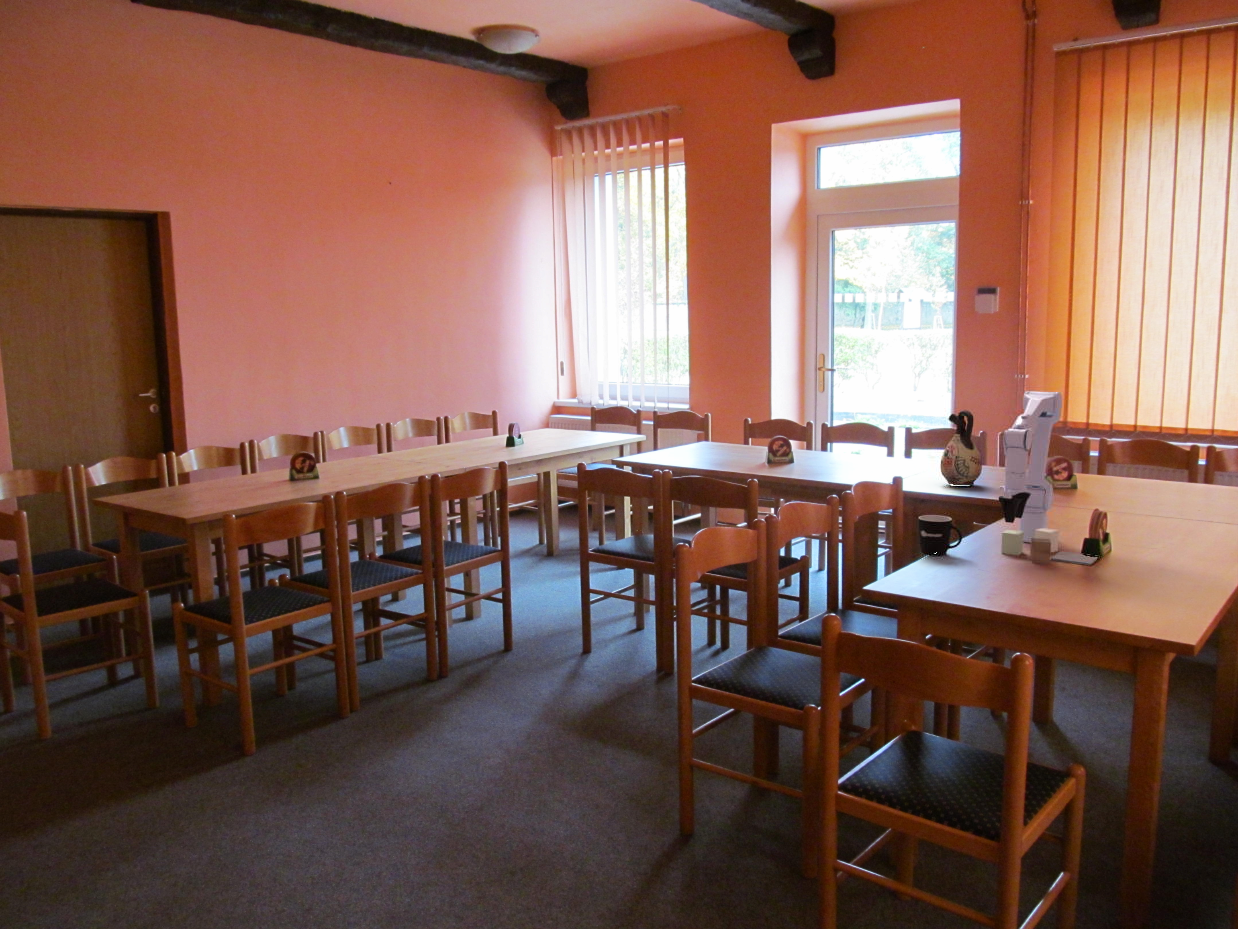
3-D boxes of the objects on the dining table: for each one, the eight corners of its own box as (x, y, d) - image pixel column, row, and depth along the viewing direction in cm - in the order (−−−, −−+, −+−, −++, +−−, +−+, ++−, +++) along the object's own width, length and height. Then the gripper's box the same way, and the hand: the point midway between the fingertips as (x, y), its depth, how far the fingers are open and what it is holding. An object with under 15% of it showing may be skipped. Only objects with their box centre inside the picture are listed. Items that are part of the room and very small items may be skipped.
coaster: (1060, 553, 275) (1060, 551, 275) (1099, 558, 269) (1099, 556, 269) (1050, 560, 267) (1050, 558, 267) (1090, 565, 261) (1090, 563, 261)
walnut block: (1030, 559, 269) (1031, 537, 268) (1047, 560, 267) (1049, 538, 266) (1031, 563, 264) (1032, 541, 264) (1049, 564, 263) (1051, 542, 262)
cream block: (1042, 548, 281) (1043, 527, 280) (1057, 551, 278) (1059, 530, 277) (1034, 550, 278) (1035, 529, 278) (1049, 553, 275) (1050, 532, 274)
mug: (912, 554, 275) (914, 519, 274) (922, 548, 282) (923, 513, 281) (956, 560, 268) (958, 523, 267) (965, 553, 276) (966, 518, 274)
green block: (1006, 550, 279) (1007, 529, 278) (1022, 552, 276) (1023, 531, 276) (1001, 553, 276) (1002, 532, 275) (1018, 555, 273) (1019, 534, 272)
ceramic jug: (931, 483, 390) (934, 408, 385) (964, 481, 394) (967, 407, 390) (958, 490, 374) (961, 412, 369) (992, 488, 378) (995, 410, 374)
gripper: (1008, 467, 281) (1006, 514, 283) (993, 474, 269) (990, 522, 271) (1034, 469, 276) (1032, 516, 278) (1019, 476, 265) (1017, 525, 267)
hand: (1013, 520), depth 275 cm, fingers open, 7 cm apart
